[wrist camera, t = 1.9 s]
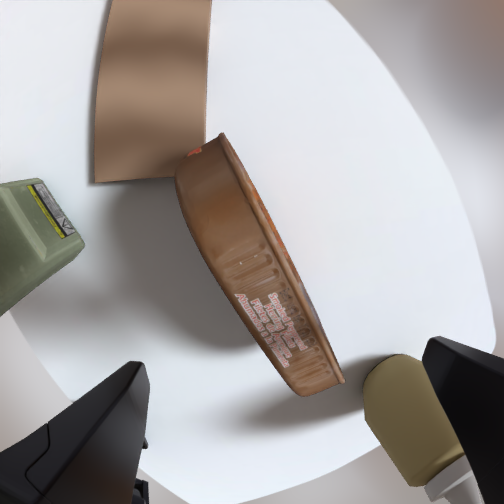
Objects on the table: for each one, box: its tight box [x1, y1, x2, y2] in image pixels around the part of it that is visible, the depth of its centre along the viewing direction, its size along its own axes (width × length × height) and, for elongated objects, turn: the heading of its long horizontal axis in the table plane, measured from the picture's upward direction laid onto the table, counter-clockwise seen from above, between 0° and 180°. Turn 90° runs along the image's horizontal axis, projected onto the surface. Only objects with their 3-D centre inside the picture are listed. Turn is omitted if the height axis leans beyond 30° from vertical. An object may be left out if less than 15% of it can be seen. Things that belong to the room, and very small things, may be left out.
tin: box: [174, 133, 345, 397], centre depth 14 cm, size 15×3×8 cm, turn 27°
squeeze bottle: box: [363, 355, 482, 504], centre depth 15 cm, size 8×8×18 cm
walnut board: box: [94, 0, 212, 183], centre depth 14 cm, size 16×7×1 cm, turn 179°
